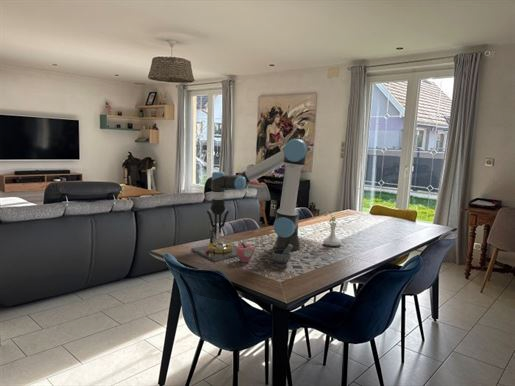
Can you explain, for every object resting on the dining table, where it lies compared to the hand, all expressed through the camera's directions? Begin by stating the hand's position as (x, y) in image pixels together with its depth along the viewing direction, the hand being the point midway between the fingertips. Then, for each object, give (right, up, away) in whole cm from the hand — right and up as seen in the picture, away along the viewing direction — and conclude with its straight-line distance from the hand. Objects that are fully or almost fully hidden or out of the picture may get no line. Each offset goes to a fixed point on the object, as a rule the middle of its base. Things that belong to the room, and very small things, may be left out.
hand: (217, 238), depth 225 cm
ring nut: (+1, -5, -6) cm, 8 cm away
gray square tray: (+3, -7, -7) cm, 10 cm away
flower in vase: (+69, -6, +13) cm, 70 cm away
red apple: (+17, -10, -23) cm, 30 cm away
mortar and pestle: (+36, -11, -27) cm, 46 cm away
